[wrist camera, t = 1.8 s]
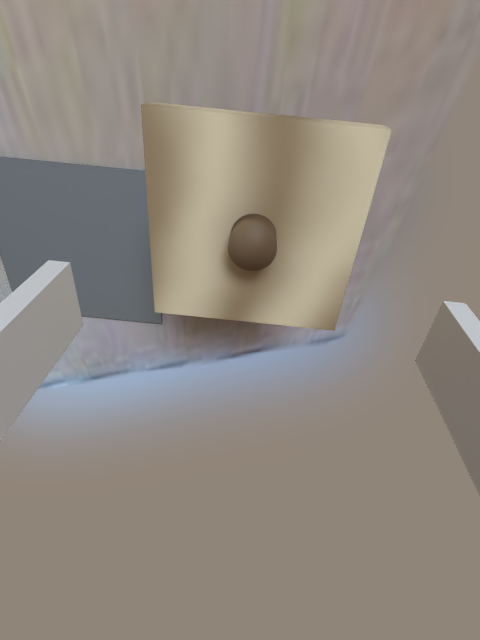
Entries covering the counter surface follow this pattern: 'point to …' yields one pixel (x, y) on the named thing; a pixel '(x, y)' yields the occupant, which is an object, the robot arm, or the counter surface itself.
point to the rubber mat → (80, 232)
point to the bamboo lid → (256, 211)
